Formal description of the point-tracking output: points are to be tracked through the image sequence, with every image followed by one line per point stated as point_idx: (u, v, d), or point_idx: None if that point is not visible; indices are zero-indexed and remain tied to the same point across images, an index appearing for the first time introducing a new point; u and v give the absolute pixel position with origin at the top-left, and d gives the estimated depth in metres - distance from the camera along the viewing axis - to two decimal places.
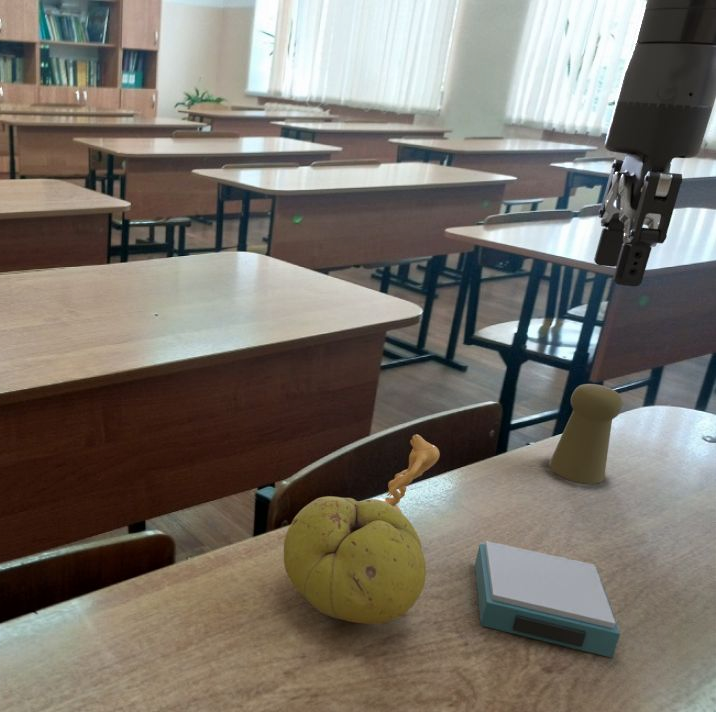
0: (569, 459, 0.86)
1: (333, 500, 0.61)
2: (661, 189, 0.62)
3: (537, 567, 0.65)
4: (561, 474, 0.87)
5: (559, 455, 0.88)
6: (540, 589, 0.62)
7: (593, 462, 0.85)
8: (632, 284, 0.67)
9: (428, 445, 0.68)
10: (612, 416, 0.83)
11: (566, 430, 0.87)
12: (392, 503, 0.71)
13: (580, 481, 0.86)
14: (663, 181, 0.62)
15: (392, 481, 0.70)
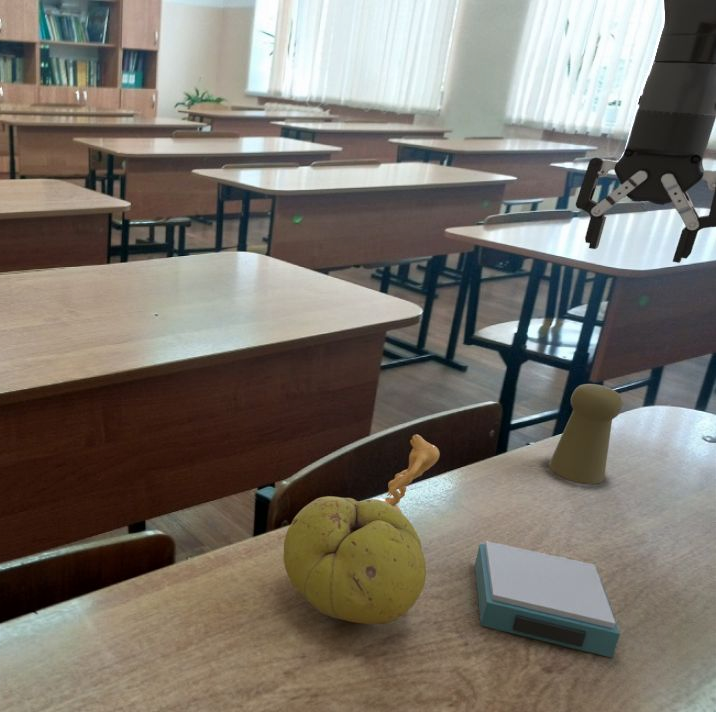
0: (569, 459, 0.86)
1: (333, 500, 0.61)
2: None
3: (537, 567, 0.65)
4: (561, 474, 0.87)
5: (559, 455, 0.88)
6: (540, 589, 0.62)
7: (593, 462, 0.85)
8: (680, 260, 0.83)
9: (428, 445, 0.68)
10: (612, 416, 0.83)
11: (566, 430, 0.87)
12: (392, 503, 0.71)
13: (580, 481, 0.86)
14: None
15: (392, 481, 0.70)
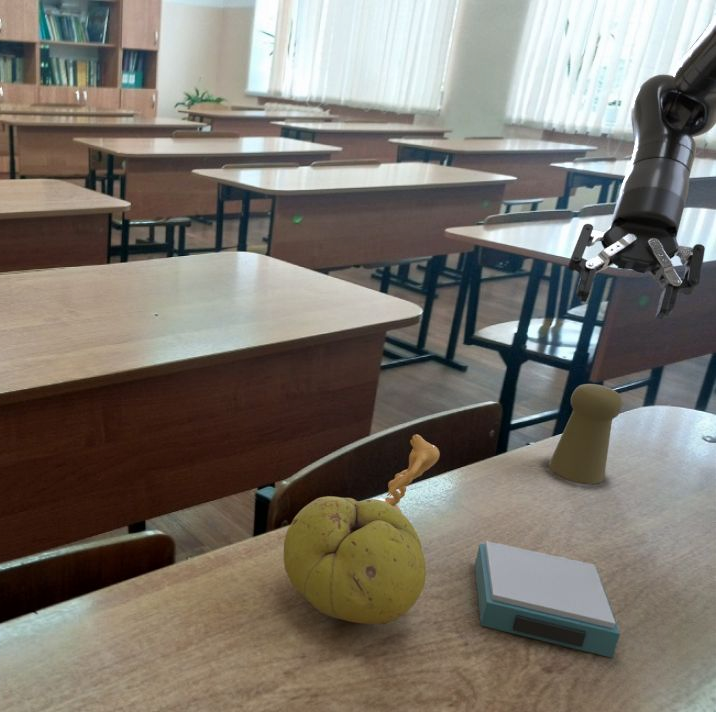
0: (569, 459, 0.86)
1: (333, 500, 0.61)
2: None
3: (537, 567, 0.65)
4: (561, 474, 0.87)
5: (559, 455, 0.88)
6: (540, 589, 0.62)
7: (593, 462, 0.85)
8: (582, 295, 0.93)
9: (428, 445, 0.68)
10: (612, 416, 0.83)
11: (566, 430, 0.87)
12: (392, 503, 0.71)
13: (580, 481, 0.86)
14: None
15: (392, 481, 0.70)
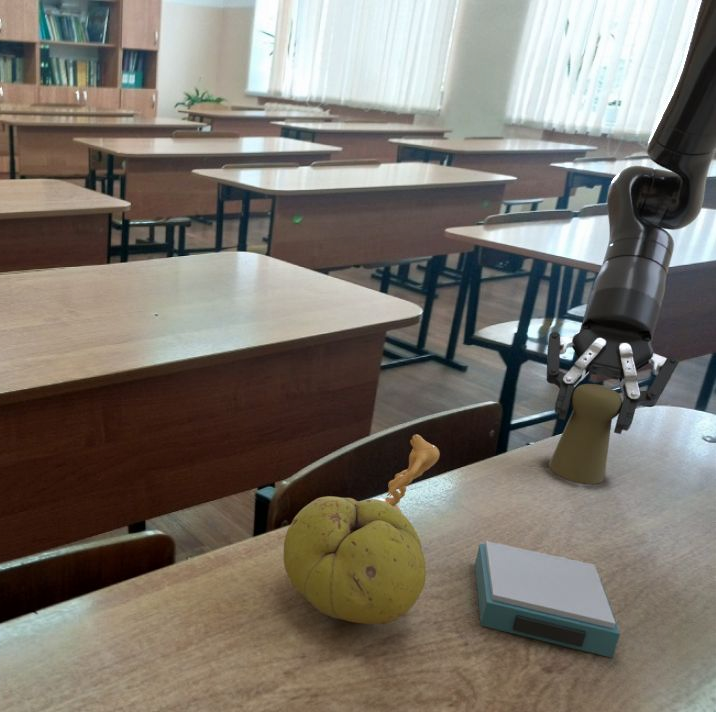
0: (569, 459, 0.86)
1: (333, 500, 0.61)
2: (548, 346, 0.91)
3: (537, 567, 0.65)
4: (561, 474, 0.87)
5: (559, 455, 0.88)
6: (540, 589, 0.62)
7: (593, 462, 0.85)
8: (559, 413, 0.86)
9: (428, 445, 0.68)
10: (612, 416, 0.84)
11: (566, 430, 0.87)
12: (392, 503, 0.71)
13: (580, 481, 0.86)
14: (548, 342, 0.91)
15: (392, 481, 0.70)
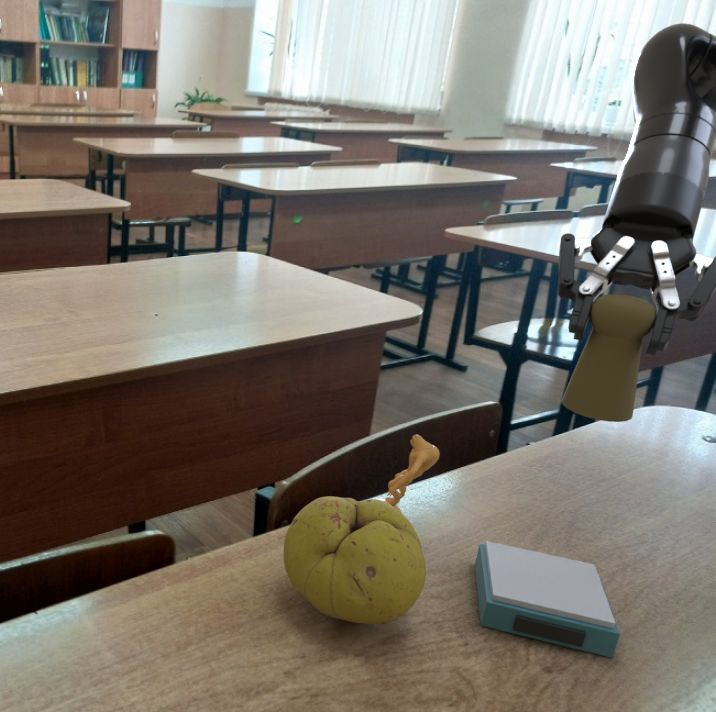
0: (587, 391, 0.68)
1: (333, 500, 0.61)
2: None
3: (537, 567, 0.65)
4: (577, 411, 0.68)
5: (574, 387, 0.69)
6: (540, 589, 0.62)
7: (619, 393, 0.66)
8: (575, 331, 0.67)
9: (428, 445, 0.68)
10: (643, 332, 0.65)
11: (583, 354, 0.68)
12: (392, 503, 0.71)
13: (602, 418, 0.67)
14: None
15: (392, 481, 0.70)
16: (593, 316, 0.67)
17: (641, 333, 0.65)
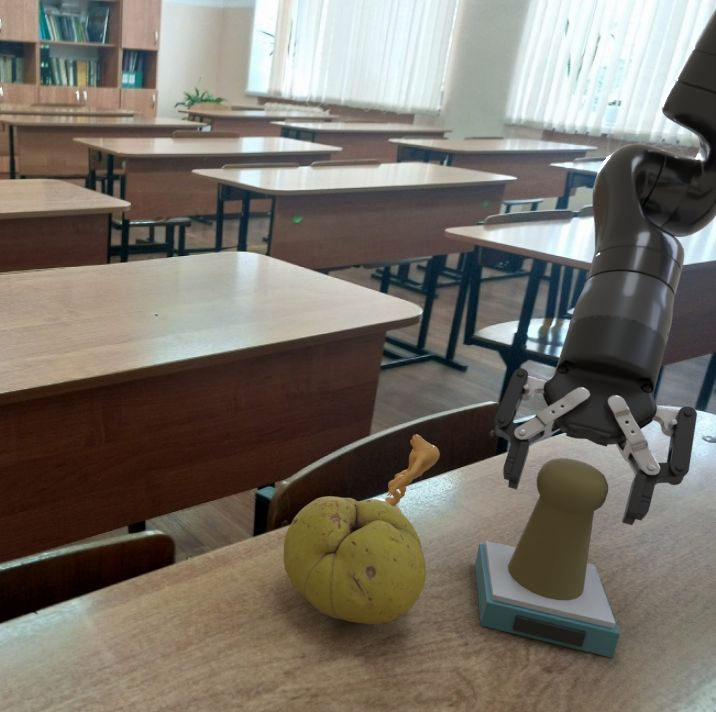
0: (534, 564, 0.61)
1: (333, 500, 0.61)
2: None
3: None
4: (523, 584, 0.62)
5: (521, 557, 0.63)
6: None
7: (568, 571, 0.60)
8: None
9: (428, 445, 0.68)
10: (594, 508, 0.59)
11: (530, 522, 0.62)
12: (392, 503, 0.71)
13: (549, 596, 0.61)
14: None
15: (392, 481, 0.70)
16: (540, 485, 0.60)
17: (591, 509, 0.59)
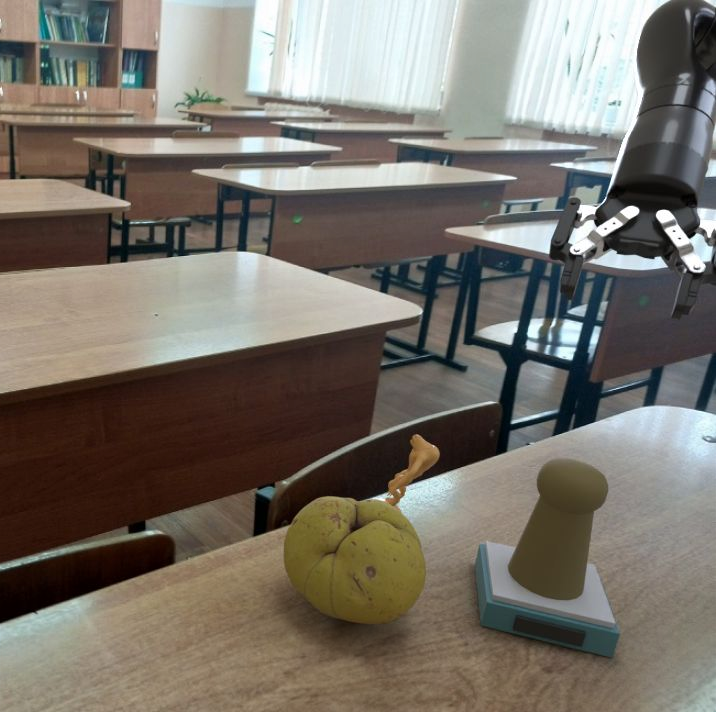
0: (534, 564, 0.61)
1: (333, 500, 0.61)
2: None
3: None
4: (523, 584, 0.62)
5: (521, 557, 0.63)
6: None
7: (568, 571, 0.60)
8: (565, 291, 0.68)
9: (428, 445, 0.68)
10: (594, 508, 0.59)
11: (530, 522, 0.62)
12: (392, 503, 0.71)
13: (549, 596, 0.61)
14: None
15: (392, 481, 0.70)
16: (540, 485, 0.60)
17: (591, 510, 0.59)
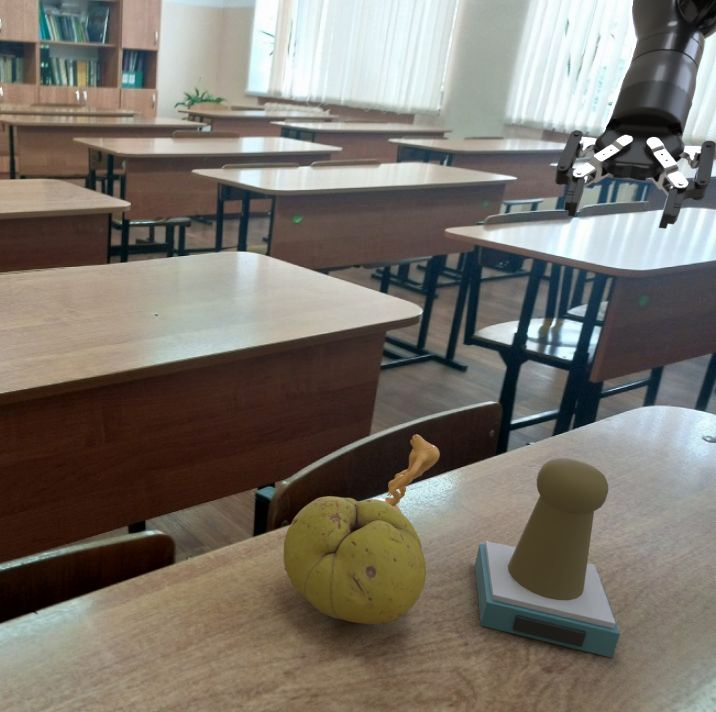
0: (534, 564, 0.61)
1: (333, 500, 0.61)
2: None
3: None
4: (523, 584, 0.62)
5: (521, 557, 0.63)
6: None
7: (568, 571, 0.60)
8: (569, 207, 0.80)
9: (428, 445, 0.68)
10: (594, 508, 0.59)
11: (530, 522, 0.62)
12: (392, 503, 0.71)
13: (549, 596, 0.61)
14: None
15: (392, 481, 0.70)
16: (540, 485, 0.60)
17: (591, 510, 0.59)
